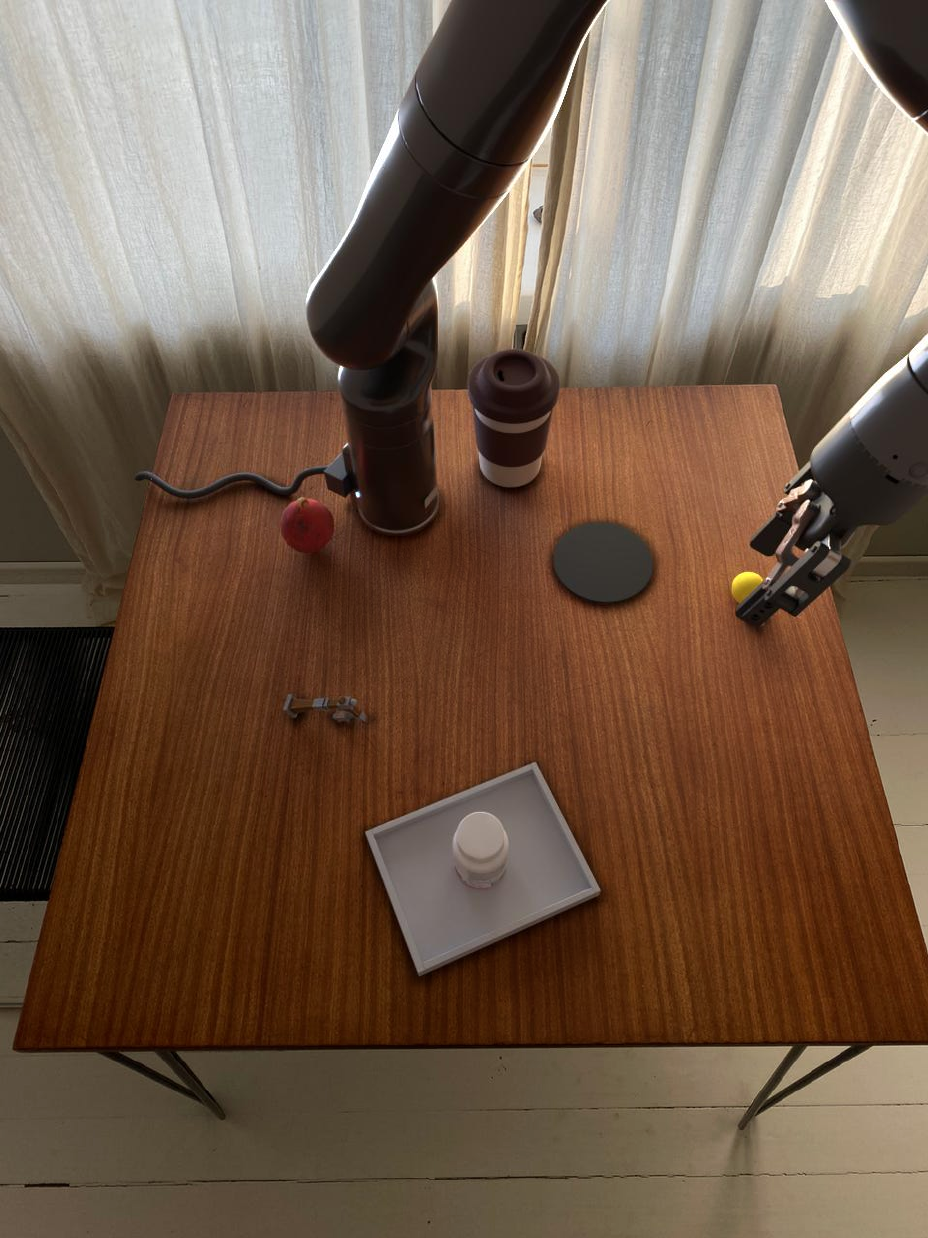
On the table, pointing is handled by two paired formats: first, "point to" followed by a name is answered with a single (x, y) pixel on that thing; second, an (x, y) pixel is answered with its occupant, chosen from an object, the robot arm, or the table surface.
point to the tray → (470, 918)
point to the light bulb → (745, 585)
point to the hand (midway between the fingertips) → (752, 582)
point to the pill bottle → (480, 851)
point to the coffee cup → (512, 413)
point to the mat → (603, 562)
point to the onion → (307, 525)
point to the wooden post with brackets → (326, 707)
